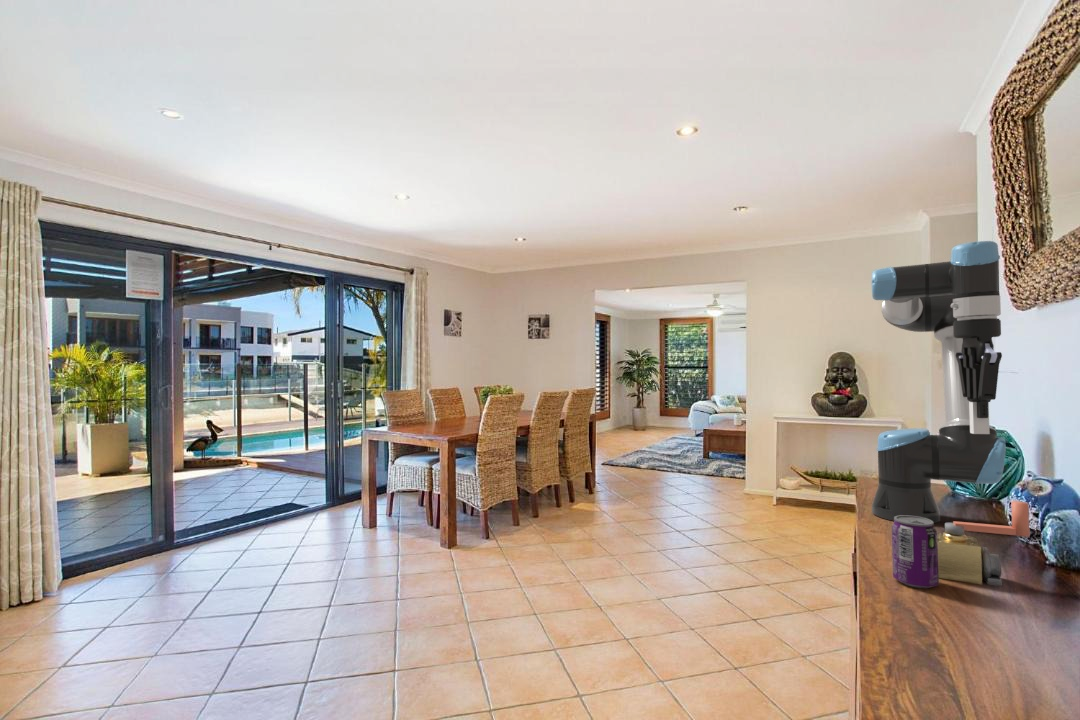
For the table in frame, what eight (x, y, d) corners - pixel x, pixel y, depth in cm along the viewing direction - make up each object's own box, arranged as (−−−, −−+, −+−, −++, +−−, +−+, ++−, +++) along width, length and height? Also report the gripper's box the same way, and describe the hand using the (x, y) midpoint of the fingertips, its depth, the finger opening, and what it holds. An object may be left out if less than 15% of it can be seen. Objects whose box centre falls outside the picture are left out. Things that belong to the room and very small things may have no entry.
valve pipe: (914, 563, 109) (912, 525, 109) (995, 575, 102) (994, 534, 102) (916, 574, 104) (915, 533, 104) (1003, 587, 97) (1001, 544, 97)
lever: (947, 533, 102) (946, 498, 102) (943, 529, 105) (942, 495, 105) (1032, 542, 97) (1031, 505, 97) (1026, 537, 99) (1025, 501, 100)
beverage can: (947, 592, 96) (944, 526, 96) (903, 589, 97) (901, 524, 97) (926, 576, 103) (924, 514, 103) (886, 574, 104) (884, 513, 104)
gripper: (940, 321, 115) (943, 428, 115) (970, 317, 103) (974, 438, 103) (981, 319, 113) (984, 429, 113) (1017, 315, 101) (1021, 438, 101)
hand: (979, 433), depth 108 cm, fingers closed
